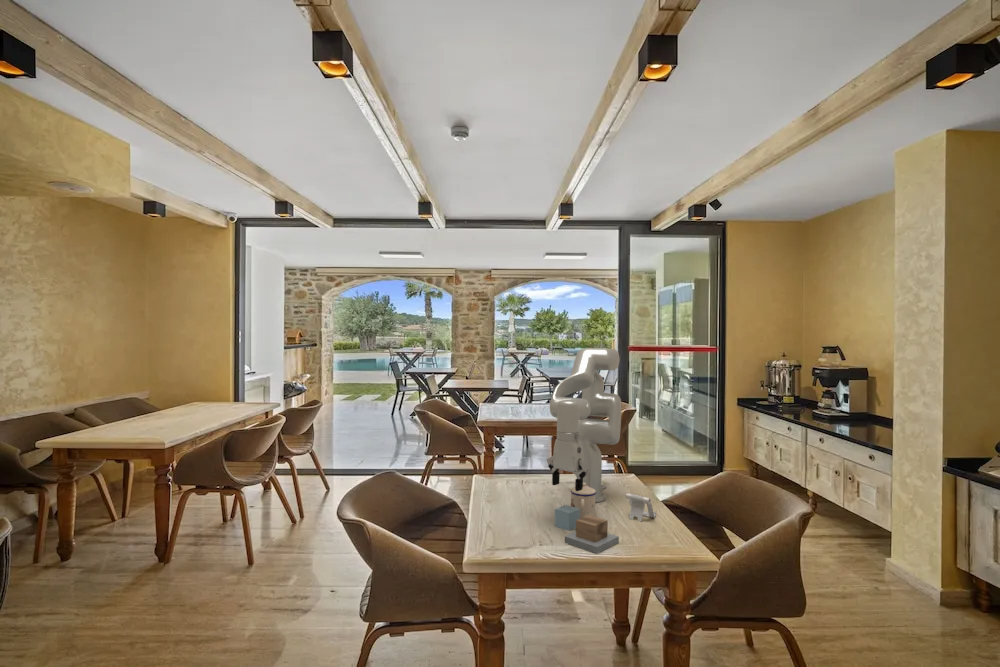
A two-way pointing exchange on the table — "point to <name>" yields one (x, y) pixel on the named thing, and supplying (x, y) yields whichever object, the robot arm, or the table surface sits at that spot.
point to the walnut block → (591, 528)
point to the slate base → (592, 546)
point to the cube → (566, 517)
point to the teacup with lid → (584, 500)
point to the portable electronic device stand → (640, 507)
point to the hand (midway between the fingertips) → (567, 487)
